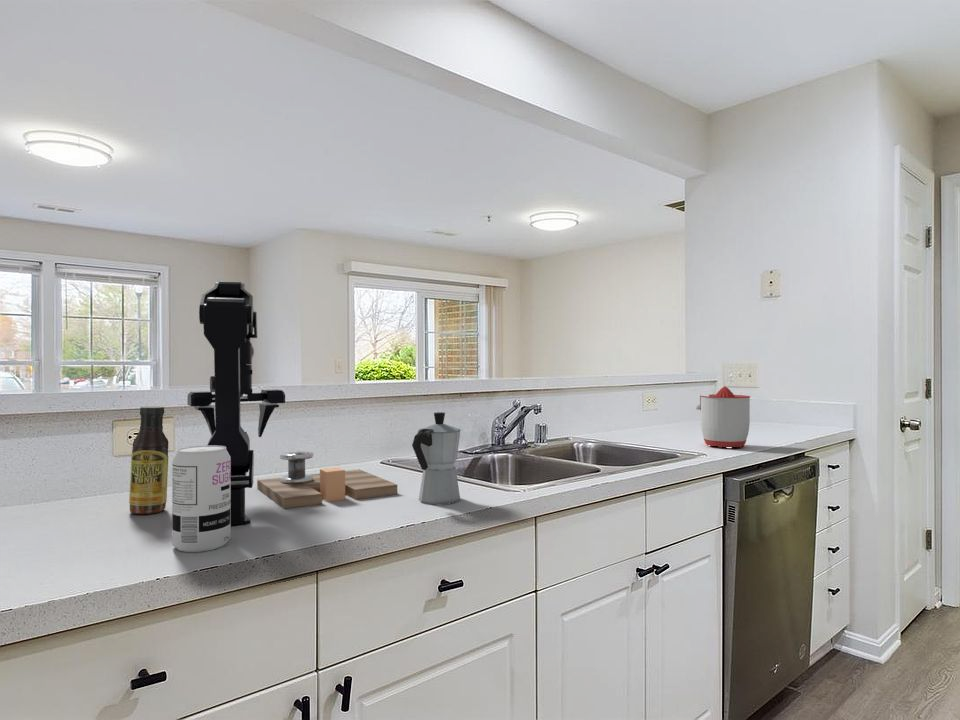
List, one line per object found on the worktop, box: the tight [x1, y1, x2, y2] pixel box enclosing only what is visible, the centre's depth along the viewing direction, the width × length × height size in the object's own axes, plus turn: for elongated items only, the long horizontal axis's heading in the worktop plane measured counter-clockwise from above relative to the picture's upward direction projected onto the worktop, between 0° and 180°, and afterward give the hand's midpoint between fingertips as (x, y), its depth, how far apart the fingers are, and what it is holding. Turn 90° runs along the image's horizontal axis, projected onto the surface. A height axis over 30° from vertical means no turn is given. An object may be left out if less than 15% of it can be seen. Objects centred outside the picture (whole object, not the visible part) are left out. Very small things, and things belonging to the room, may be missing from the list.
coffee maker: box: [411, 411, 461, 506], centre depth 125 cm, size 15×9×18 cm, turn 149°
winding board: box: [256, 469, 398, 509], centre depth 133 cm, size 22×24×2 cm
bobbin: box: [279, 450, 314, 484], centre depth 135 cm, size 7×7×6 cm
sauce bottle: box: [128, 405, 169, 515], centre depth 116 cm, size 6×6×20 cm
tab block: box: [319, 466, 346, 502], centre depth 127 cm, size 4×4×6 cm
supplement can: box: [171, 444, 232, 553], centre depth 95 cm, size 8×8×15 cm
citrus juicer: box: [696, 386, 751, 448], centre depth 204 cm, size 16×17×20 cm
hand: (237, 438), depth 130 cm, fingers open, 9 cm apart
